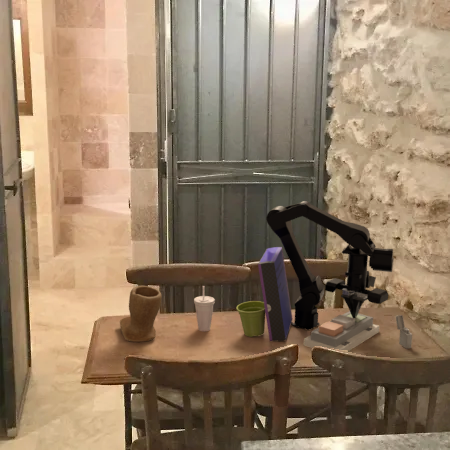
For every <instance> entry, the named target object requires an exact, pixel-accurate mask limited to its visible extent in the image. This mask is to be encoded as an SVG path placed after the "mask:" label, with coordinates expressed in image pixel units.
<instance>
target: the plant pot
mask: <svg viewBox="0 0 450 450" xmlns="http://www.w3.org/2000/svg"><path fill="white" fill-rule="evenodd" d="M236 311H237V312H238V315H239V317H240V321H241V326H242V330H243V333H244V335H245V336H246V337H248V338H249V337H250V338H251V337H252V338H253V337H259V336H262V335H263V334H264V333H265V326H266V325H265V324H266V313H265V306H264V301H260V300H251V301H245V302H242V303H240V304H238V305H237V306H236Z"/></svg>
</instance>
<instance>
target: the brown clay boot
mask: <svg viewBox="0 0 450 450" xmlns="http://www.w3.org/2000/svg"><path fill="white" fill-rule="evenodd" d="M162 295H163V294H162V293H161V291H160V290H158V289H157V288H155V287H152V286H148V285H138V286H134V287H133V288H132V289H131V291H130V292H129V299H128V310H129V311H128V312H129V316H126V317H123V318H122V319H120V321H119V327H120V330H121V335H122V336H123V338H124V339H125V340H126V341H128V342H131V343H132V342H133V343H142V342H143V343H144V342H149V341H153V340H155V338H156V336H157V332H156V328H155V326H154V325H155V321H156V317H157V315H158V313H159V311H160V308H161V306H162V305H161V304H162Z"/></svg>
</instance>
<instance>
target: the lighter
mask: <svg viewBox="0 0 450 450" xmlns="http://www.w3.org/2000/svg"><path fill="white" fill-rule="evenodd" d="M395 321H396V327H397V330H398V331H399V338H398V339H399V340H398V344H399V345H401V346H402V347H403V348H405V349H406V350H407V349H412V344H413V343H412V341H413V333H412V332H410V329H409V328H408V327H406V326H405V319H404V315H403V314H398V315H395Z"/></svg>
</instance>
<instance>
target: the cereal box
mask: <svg viewBox="0 0 450 450" xmlns="http://www.w3.org/2000/svg"><path fill="white" fill-rule="evenodd" d="M283 250H284V249H283V247H282V246H276V247H275V246H274V247H268V248H266V249H265V251H264V253H263V255H262V257H261V258H260V260H259V262H258V264H257V266H258V273H259V281H260V286H261V293H262V299H263V302H264V306H265V320H266V325H267V330H268V338H269V342H280V341H281V342H283V341H284V342H285V341H287V338H288V334H289V333H290V332H289V331H290V329H291V326H292V323H293V322H292V321H293V314H292V313H293V312H292V307H291V300H290V293H289V286H288V280H287V279H288V277H287V273H286V266H285V265H286V264H285V257H284V251H283Z"/></svg>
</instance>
